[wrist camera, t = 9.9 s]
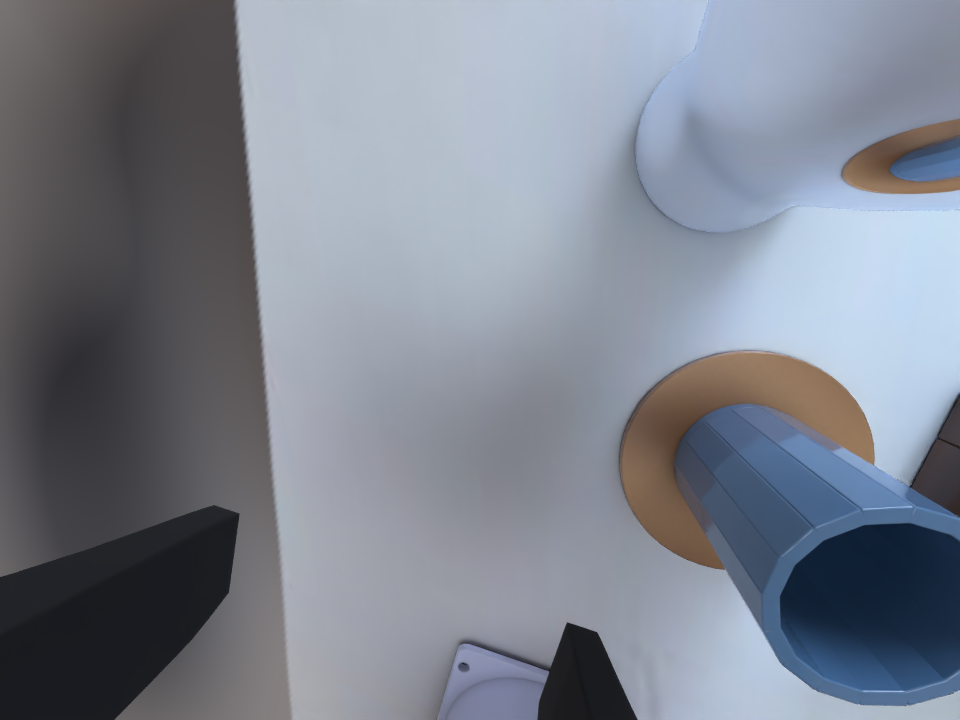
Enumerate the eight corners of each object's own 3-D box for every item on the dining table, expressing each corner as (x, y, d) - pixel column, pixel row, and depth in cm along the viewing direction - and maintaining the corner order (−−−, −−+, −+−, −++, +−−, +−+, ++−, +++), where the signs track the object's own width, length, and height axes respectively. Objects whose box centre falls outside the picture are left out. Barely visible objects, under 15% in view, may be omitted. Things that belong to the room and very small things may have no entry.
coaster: (808, 593, 18) (814, 600, 18) (591, 526, 19) (592, 531, 18) (911, 388, 16) (921, 391, 16) (662, 322, 17) (664, 324, 16)
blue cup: (782, 541, 17) (950, 736, 10) (655, 502, 18) (728, 662, 11) (837, 424, 16) (1071, 551, 9) (699, 387, 17) (816, 478, 9)
